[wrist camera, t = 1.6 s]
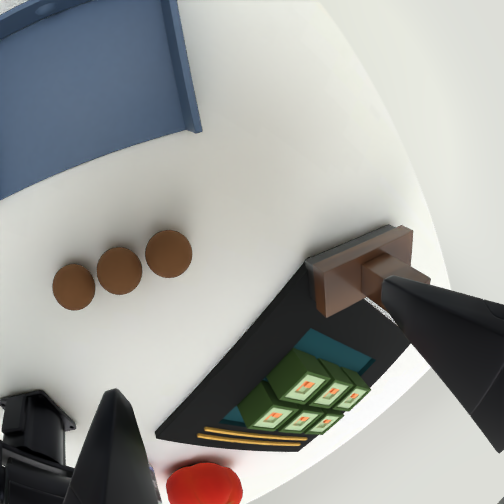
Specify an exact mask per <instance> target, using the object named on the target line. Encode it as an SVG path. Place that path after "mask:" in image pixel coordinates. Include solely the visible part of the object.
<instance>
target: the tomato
mask: <svg viewBox="0 0 504 504" xmlns="http://www.w3.org/2000/svg"><path fill="white" fill-rule="evenodd" d="M166 489H167V494H168V500H169V502H170V504H239V503H240V501H241V499H242V494H243V489H242V486H241V482H240V479H239V478H238V476H237V475H236V473H235V472H234V471H232V470H231V469H230V468H227V467H222V466H220V465H218V464H216V463H207V462H205V463H197V464H195V465H193V466H188V467H183V468H181V469H179V470H177V471H175V472H174V473H173V474H172V475H171V476H170V477H169V478H168V479H167V483H166Z"/></svg>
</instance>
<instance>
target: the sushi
mask: <svg viewBox="0 0 504 504" xmlns="http://www.w3.org/2000/svg"><path fill="white" fill-rule="evenodd" d="M309 258H310V257H308V259H309ZM410 344H411V342H410V341H409V340H408V339H407V338H406V336H405V335H404V334H403V332H402V331H401V330H400V328H399V327H398V326H397V325H396V324H394V323H393V322H392V321H391V320H389V319H388V318H387V317H386V316H384V315H383V314H382V313H381V312H379V311H378V310H377V309H376V308H374V307H373V306H372V305H371V304H369V303H368V302H367V301H365V300H364V299H362V300H360V301H358V302H356V303H354V304H352V305H350V306H349V307H347V308H345V309H343V310H341V311H339V312H337V313H335V314H333V315H331V316H329V317H327V318H326V317H325V316H324V315H323V314H322V313H320V312H319V311H318V310H317V308H316V302H315V301H314V300H313V299H312V298H311V297H310V289H309V276H308V269H307V268H306V264H305V262H304V264H303V265H302V266H301V267H300V269H299V270H298V271H297V272H296V273H295V275H294V276H293V277H292V278H291V280H290V281H289V282H288V283H287V284H286V286H285V287H284V288H283V289H282V290H281V292H280V293H279V294H278V295H277V296H276V298H275V299H274V300H273V301H272V302H271V304H270V305H269V306H268V307H267V308H266V309H265V311H264V312H263V313H262V314H261V315H260V317H259V318H258V319H257V320H256V321H255V322H254V324H253V325H252V326H251V327H250V328H249V329H248V331H247V332H246V333H245V334H244V335H243V336H242V337H241V339H240V340H239V341H238V342H237V343H236V344H235V345H234V347H233V348H232V349H231V350H230V351H229V352H228V353H227V355H226V356H225V357H224V358H223V359H222V360H221V361H220V362H219V364H218V365H217V366H216V367H215V368H214V369H213V370H212V371H211V373H210V374H209V375H208V376H207V377H206V378H205V379H204V380H203V381H202V382H201V384H200V385H199V386H198V387H197V388H196V389H195V390H194V391H193V392H192V393H191V394H190V396H189V397H188V398H187V399H186V400H185V401H184V402H183V403H182V404H181V405H180V406H179V407H178V408H177V410H176V411H175V412H174V413H173V414H172V415H171V416H170V417H169V418H168V419H167V420H166V421H165V422H164V423H163V424H162V425H161V426H160V427H159V428H158V430H157V431H156V432H155V435H156V439H161V440H167V441H173V442H179V443H185V444H192V445H199V446H207V447H215V448H225V449H237V450H251V451H275V452H298V451H299V450H301V449H302V448H303V447H304V446H306V445H307V444H308V443H309V442H311V441H312V440H313V439H314V438H316V437H317V436H318V435H323V434H324V433H325V432H326V431H328V430H329V429H330V428H331V427H332V426H333V425H334V424H336V423H337V422H338V421H339V420H340V419H341V418H342V417H343V416H344V414H343V413H344V412H345V411H350V410H351V409H352V408H353V407H354V406H355V405H356V404H357V403H359V402H360V401H361V400H362V399H363V398H364V397H365V396H366V395H367V394H368V393H369V392H370V391H371V389H370V387H371V386H372V385H373V384H374V383H375V382H376V381H377V380H378V379H379V378H380V377H381V376H382V375H383V374H384V373H385V372H386V371H387V369H388V368H389V367H390V366H391V365H392V364H393V363H394V362H395V361H396V360H397V358H398V357H399V356H400V355H401V354H402V353H403V352H404V351H405V349H406V348H407V347H408V346H409V345H410Z"/></svg>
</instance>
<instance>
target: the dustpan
mask: <svg viewBox="0 0 504 504" xmlns="http://www.w3.org/2000/svg"><path fill="white" fill-rule="evenodd" d="M88 1H90V2H88ZM85 2H87V3H85ZM82 3H84V4H82ZM80 4H81V5H80ZM77 5H78V6H77ZM74 6H75V7H74ZM71 7H73V8H71ZM69 8H70V9H69ZM66 9H67V10H66ZM63 10H65V11H63ZM61 11H62V12H61ZM58 12H59V13H58ZM56 13H57V14H56ZM53 14H54V15H53ZM51 15H52V16H51ZM48 16H50V17H48ZM46 17H47V18H46ZM44 18H45V19H44ZM42 19H43V20H42ZM39 20H40V21H39ZM37 21H38V22H37ZM35 22H36V23H35ZM33 23H34V24H33ZM31 24H32V25H31ZM29 25H30V26H29ZM26 26H27V27H26ZM24 27H25V28H24ZM22 28H23V29H22ZM20 29H21V30H20ZM18 30H19V31H18ZM16 31H17V32H16ZM14 32H15V33H14ZM12 33H13V34H12ZM11 34H12V35H11ZM9 35H10V36H9ZM7 36H8V37H7ZM5 37H6V38H5ZM3 38H4V39H3ZM1 39H2V40H1ZM183 130H188V131H191V132H193V133H200V132H202V126H201V121H200V117H199V112H198V107H197V102H196V97H195V92H194V87H193V82H192V77H191V72H190V67H189V62H188V57H187V52H186V47H185V42H184V37H183V31H182V26H181V21H180V15H179V10H178V5H177V0H93V1H91V0H29V1H27V2H25V3H22V4H20V5H18V6H16V7H14V8H13V9H11V10H9V11H7V12H5V13H3V14H1V15H0V200H2V199H4V198H6V197H8V196H10V195H12V194H14V193H16V192H18V191H20V190H22V189H24V188H26V187H29V186H31V185H33V184H35V183H37V182H39V181H42V180H44V179H46V178H48V177H51V176H53V175H55V174H58V173H60V172H62V171H65V170H67V169H70V168H72V167H75V166H77V165H80V164H82V163H85V162H87V161H90V160H93V159H95V158H98V157H101V156H104V155H106V154H109V153H112V152H115V151H118V150H121V149H124V148H127V147H130V146H133V145H136V144H139V143H142V142H145V141H149V140H152V139H155V138H159V137H162V136H165V135H169V134H172V133H176V132H180V131H183Z"/></svg>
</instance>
